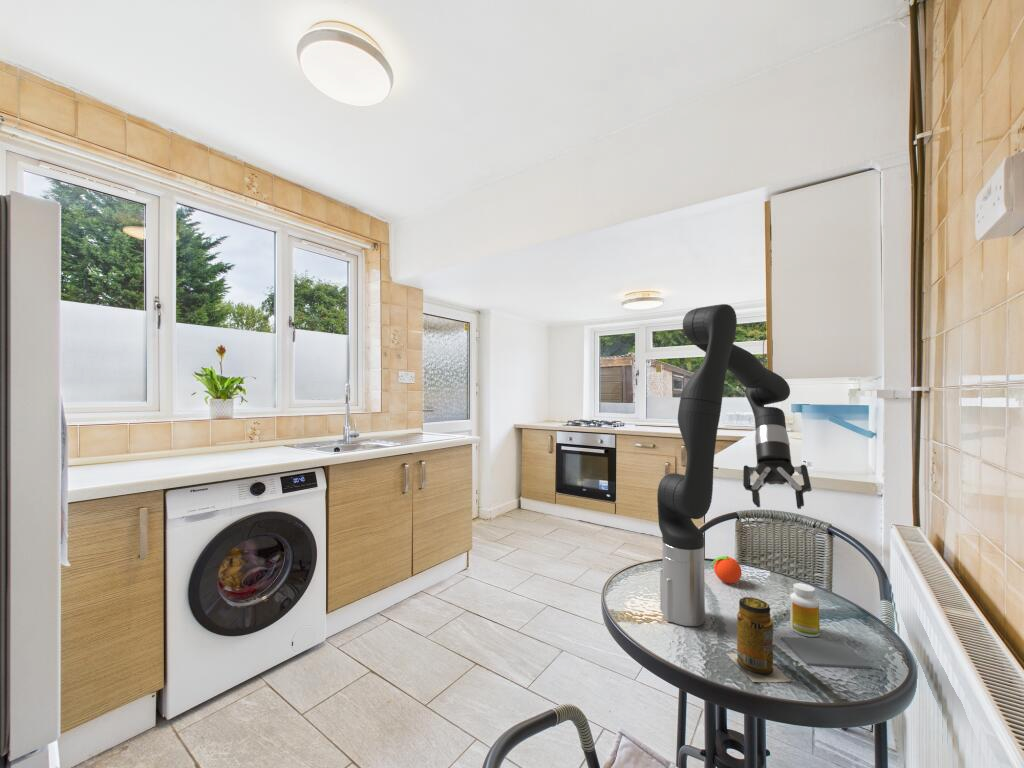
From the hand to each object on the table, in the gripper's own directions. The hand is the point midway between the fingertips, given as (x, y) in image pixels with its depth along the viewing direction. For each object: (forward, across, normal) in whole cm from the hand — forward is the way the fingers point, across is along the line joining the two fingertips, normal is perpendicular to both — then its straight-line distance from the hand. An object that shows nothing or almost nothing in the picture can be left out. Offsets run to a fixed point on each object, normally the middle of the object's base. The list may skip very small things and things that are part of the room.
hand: (778, 507), depth 102 cm
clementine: (+16, -16, +21) cm, 31 cm away
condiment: (+35, -5, -12) cm, 37 cm away
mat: (+29, +5, +1) cm, 30 cm away
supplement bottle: (+26, +2, +7) cm, 27 cm away
